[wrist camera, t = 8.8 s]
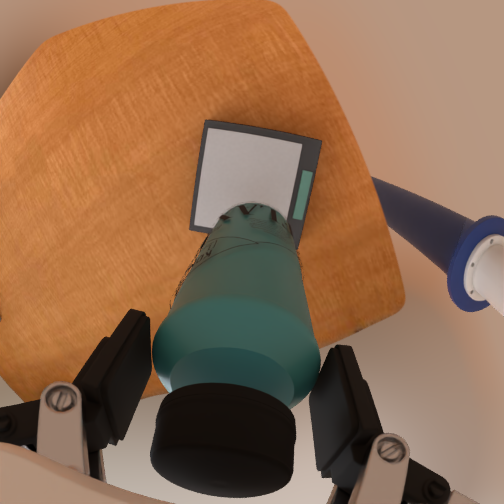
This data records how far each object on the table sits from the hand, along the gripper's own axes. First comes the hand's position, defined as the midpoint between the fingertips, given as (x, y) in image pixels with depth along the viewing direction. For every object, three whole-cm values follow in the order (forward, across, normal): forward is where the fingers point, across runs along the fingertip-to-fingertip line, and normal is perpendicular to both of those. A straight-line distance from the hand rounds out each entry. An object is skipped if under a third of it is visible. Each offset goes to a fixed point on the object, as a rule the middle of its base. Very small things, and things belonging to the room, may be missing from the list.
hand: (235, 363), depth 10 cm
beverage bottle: (+15, 0, 0) cm, 15 cm away
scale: (+29, +1, -2) cm, 29 cm away
